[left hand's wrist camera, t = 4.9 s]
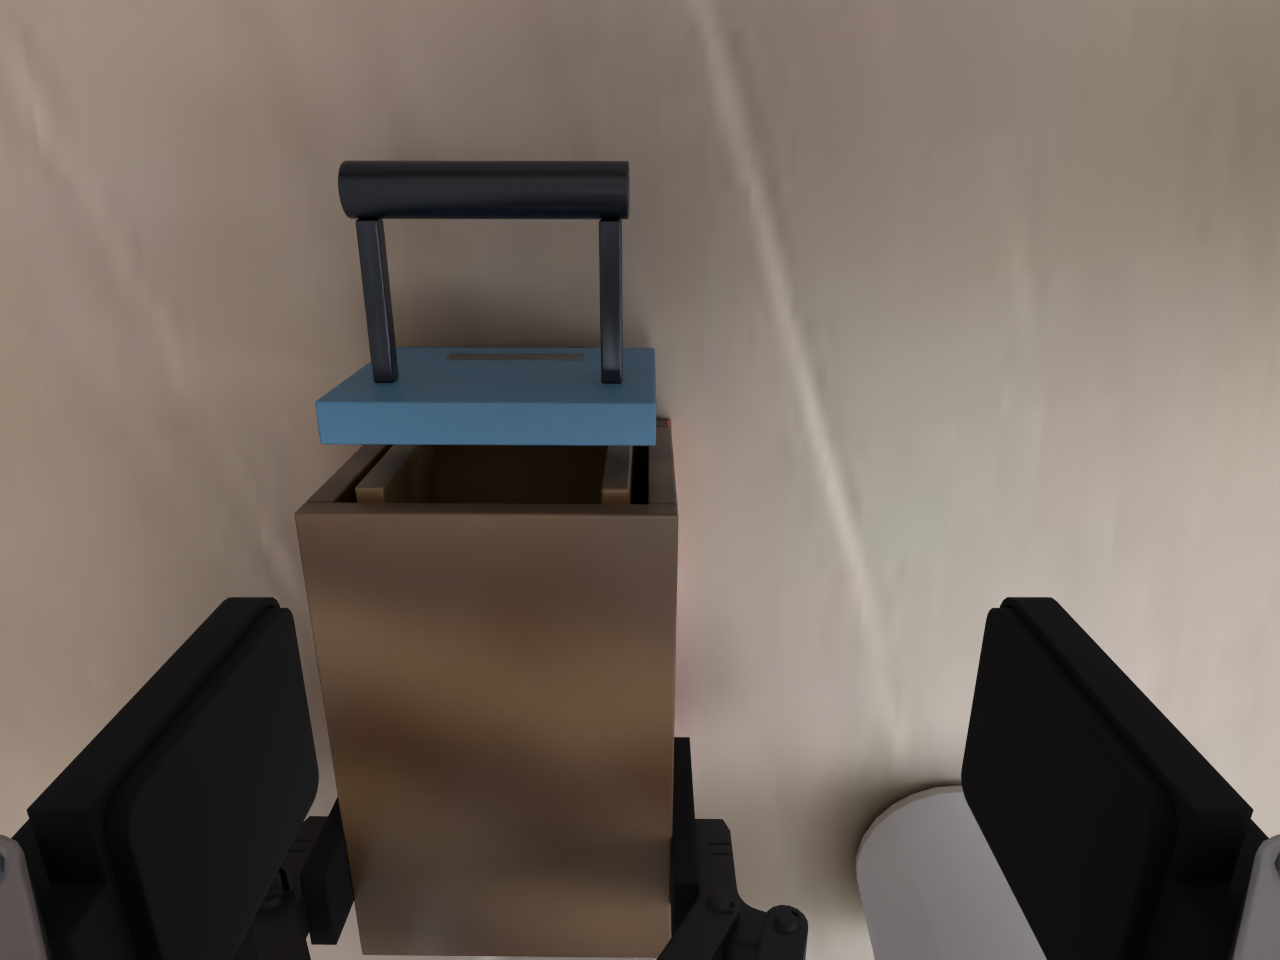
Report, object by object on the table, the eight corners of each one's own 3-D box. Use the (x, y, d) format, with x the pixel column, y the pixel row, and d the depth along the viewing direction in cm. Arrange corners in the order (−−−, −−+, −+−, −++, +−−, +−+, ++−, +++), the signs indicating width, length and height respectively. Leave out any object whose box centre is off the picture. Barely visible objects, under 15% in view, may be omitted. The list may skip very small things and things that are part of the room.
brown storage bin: (388, 418, 31) (292, 512, 22) (670, 419, 31) (678, 514, 22) (426, 775, 36) (361, 955, 28) (665, 777, 36) (670, 959, 28)
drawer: (370, 160, 27) (281, 160, 20) (655, 160, 27) (658, 161, 20) (427, 711, 34) (375, 843, 28) (651, 713, 34) (652, 845, 27)
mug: (959, 959, 40) (1059, 1217, 30) (803, 880, 38) (856, 1126, 28) (1125, 799, 36) (1298, 1031, 27) (961, 705, 35) (1082, 916, 25)
